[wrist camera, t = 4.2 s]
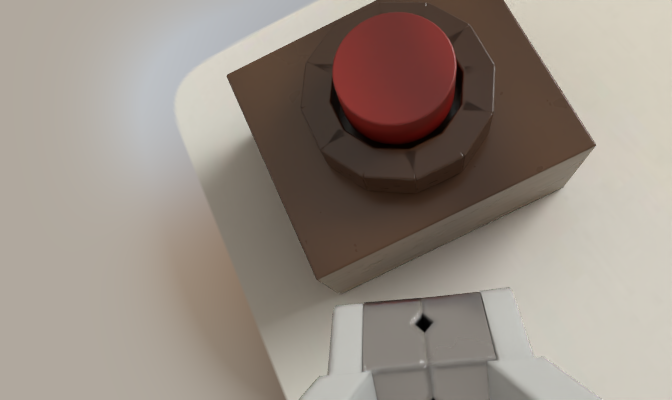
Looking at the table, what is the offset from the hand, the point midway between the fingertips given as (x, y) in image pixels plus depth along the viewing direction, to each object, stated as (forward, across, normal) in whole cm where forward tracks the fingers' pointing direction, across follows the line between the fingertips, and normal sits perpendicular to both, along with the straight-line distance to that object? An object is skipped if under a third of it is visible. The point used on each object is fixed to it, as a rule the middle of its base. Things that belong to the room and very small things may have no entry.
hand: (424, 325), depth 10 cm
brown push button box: (+20, 0, +6) cm, 20 cm away
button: (+14, 0, +1) cm, 14 cm away
